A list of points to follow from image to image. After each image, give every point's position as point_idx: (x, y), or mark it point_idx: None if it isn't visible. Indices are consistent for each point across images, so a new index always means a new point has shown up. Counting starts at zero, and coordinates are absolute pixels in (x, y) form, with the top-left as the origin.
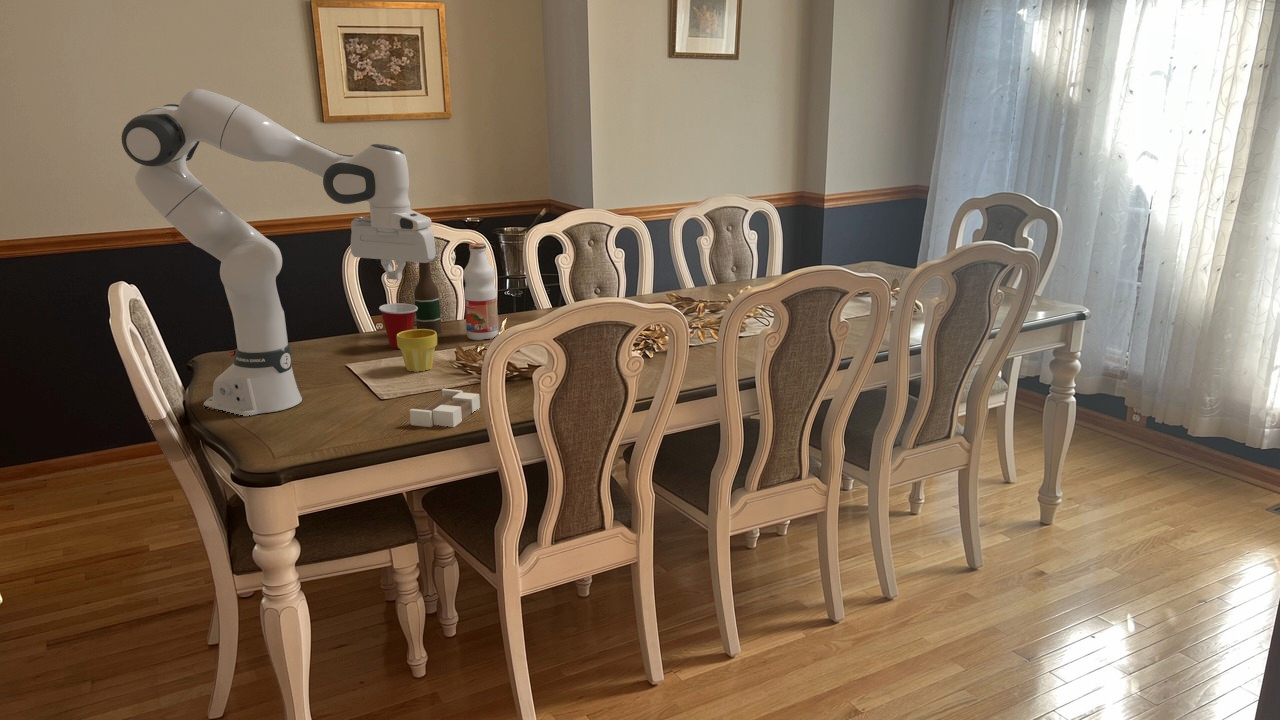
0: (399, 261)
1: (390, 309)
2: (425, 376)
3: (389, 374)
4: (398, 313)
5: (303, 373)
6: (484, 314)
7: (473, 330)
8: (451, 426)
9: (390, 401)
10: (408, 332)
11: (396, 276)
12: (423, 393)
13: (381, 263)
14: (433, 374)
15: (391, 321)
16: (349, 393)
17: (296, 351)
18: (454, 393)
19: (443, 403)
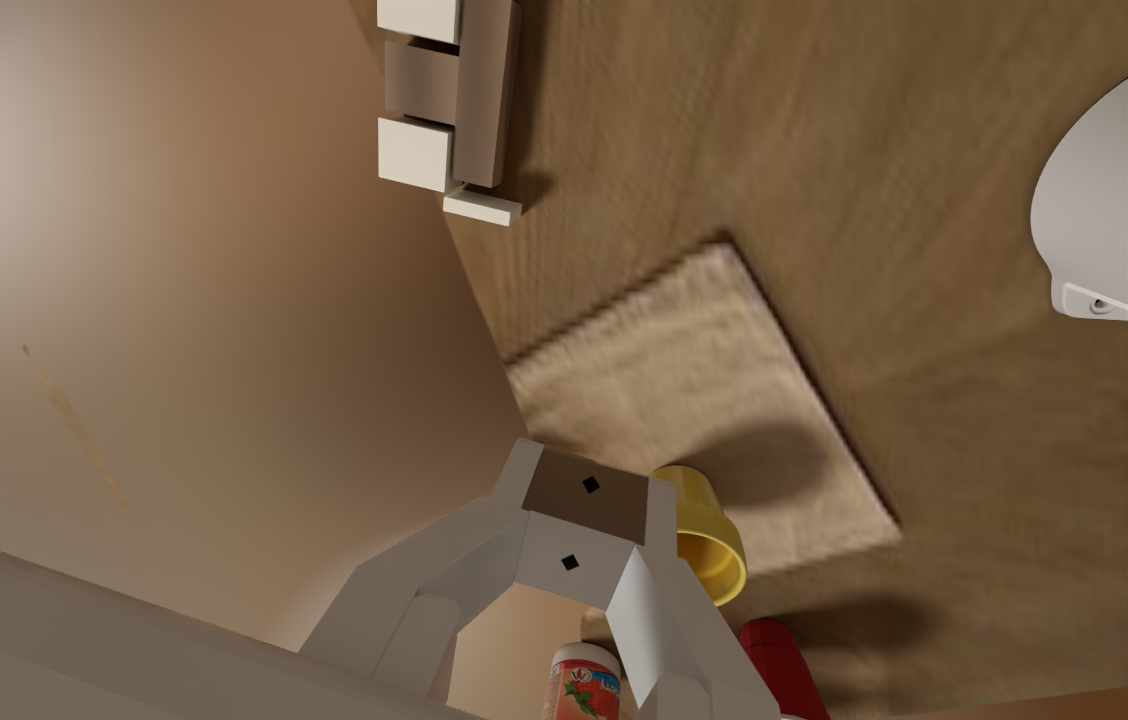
0: (330, 654)
1: None
2: (644, 433)
3: (752, 453)
4: None
5: (1037, 476)
6: (562, 706)
7: (596, 668)
8: None
9: (693, 222)
10: (717, 596)
11: (523, 461)
12: (609, 298)
13: (773, 713)
14: (627, 447)
15: (797, 694)
16: (850, 296)
17: (1070, 640)
18: (468, 200)
19: (463, 87)
